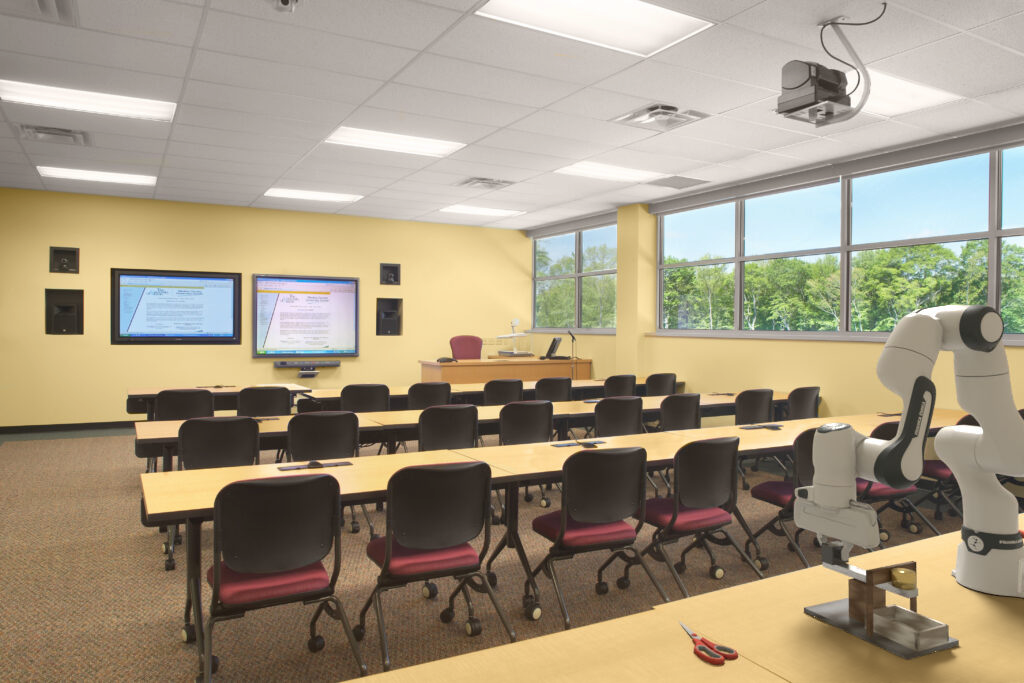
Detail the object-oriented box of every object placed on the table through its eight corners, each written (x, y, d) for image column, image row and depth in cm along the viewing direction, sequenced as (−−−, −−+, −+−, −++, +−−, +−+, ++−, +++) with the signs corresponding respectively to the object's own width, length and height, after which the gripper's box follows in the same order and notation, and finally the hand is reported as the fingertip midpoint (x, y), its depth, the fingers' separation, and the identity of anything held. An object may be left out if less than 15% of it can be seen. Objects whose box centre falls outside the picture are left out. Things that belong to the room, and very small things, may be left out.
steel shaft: (819, 567, 149) (819, 543, 150) (835, 564, 151) (835, 540, 151) (904, 599, 131) (904, 571, 131) (921, 595, 133) (921, 567, 133)
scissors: (678, 619, 145) (678, 612, 145) (745, 661, 126) (745, 653, 126) (648, 625, 142) (648, 618, 142) (712, 669, 123) (712, 661, 123)
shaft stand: (803, 612, 147) (803, 549, 147) (851, 601, 153) (851, 540, 153) (907, 660, 125) (906, 585, 125) (958, 645, 131) (958, 574, 131)
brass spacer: (900, 581, 136) (900, 566, 136) (921, 588, 132) (921, 573, 132) (886, 584, 135) (885, 569, 135) (906, 591, 131) (906, 576, 131)
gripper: (886, 504, 140) (886, 569, 140) (808, 485, 159) (809, 542, 159) (865, 507, 138) (866, 573, 138) (789, 488, 157) (789, 546, 157)
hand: (834, 556), depth 149 cm, fingers closed on steel shaft, 3 cm apart
